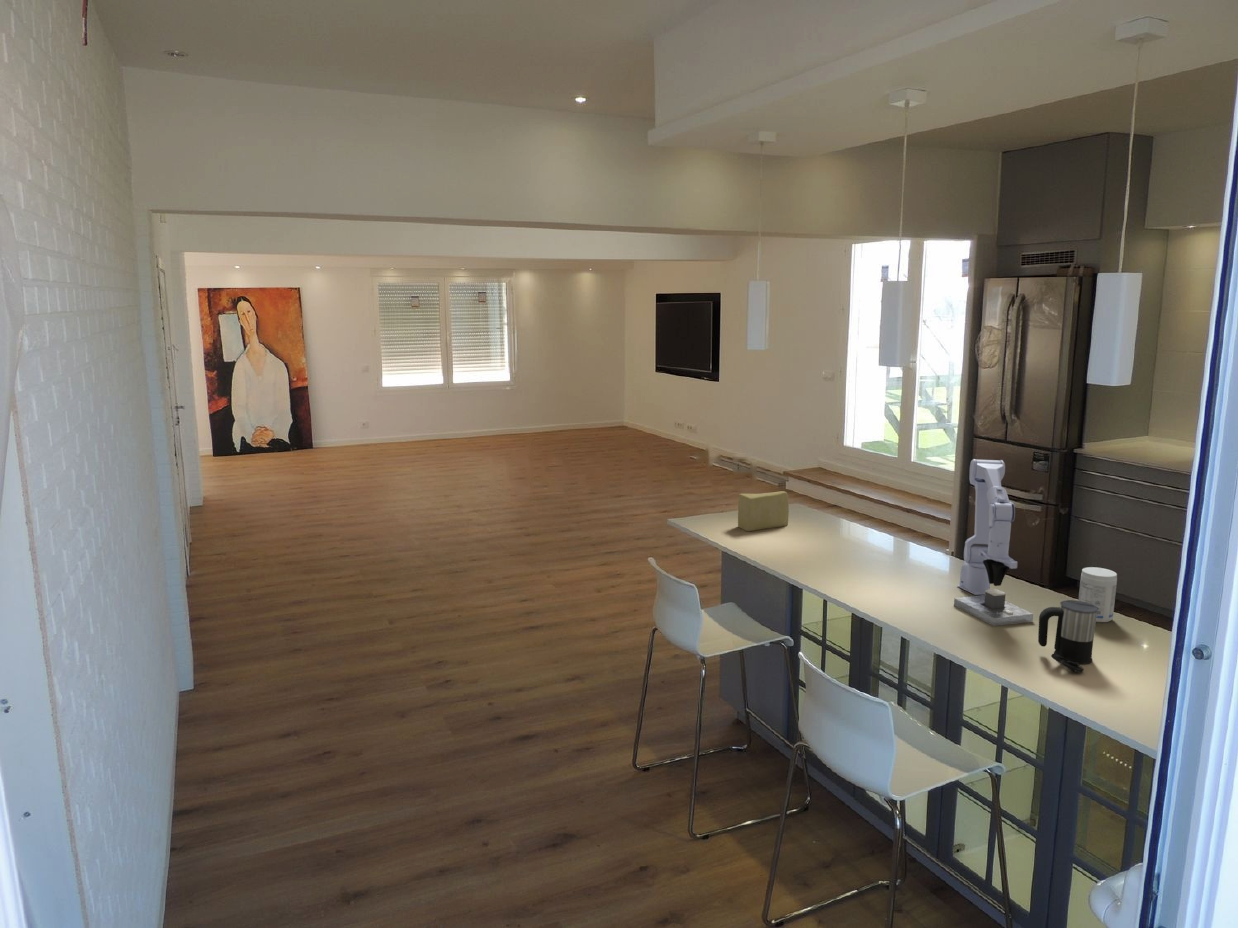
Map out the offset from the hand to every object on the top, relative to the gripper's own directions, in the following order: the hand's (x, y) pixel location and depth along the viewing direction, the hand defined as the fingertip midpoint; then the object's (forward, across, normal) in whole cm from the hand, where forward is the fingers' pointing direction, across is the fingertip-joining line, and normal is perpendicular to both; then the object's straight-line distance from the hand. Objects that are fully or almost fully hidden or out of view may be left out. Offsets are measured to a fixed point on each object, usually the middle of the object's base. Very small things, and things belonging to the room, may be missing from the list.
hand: (994, 584), depth 257 cm
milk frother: (+10, +36, -5) cm, 38 cm away
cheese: (+10, -112, -23) cm, 115 cm away
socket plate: (+9, 0, 0) cm, 9 cm away
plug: (+9, 0, 0) cm, 9 cm away
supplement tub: (+10, +11, +28) cm, 32 cm away
